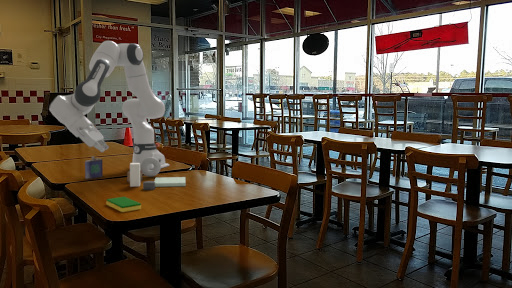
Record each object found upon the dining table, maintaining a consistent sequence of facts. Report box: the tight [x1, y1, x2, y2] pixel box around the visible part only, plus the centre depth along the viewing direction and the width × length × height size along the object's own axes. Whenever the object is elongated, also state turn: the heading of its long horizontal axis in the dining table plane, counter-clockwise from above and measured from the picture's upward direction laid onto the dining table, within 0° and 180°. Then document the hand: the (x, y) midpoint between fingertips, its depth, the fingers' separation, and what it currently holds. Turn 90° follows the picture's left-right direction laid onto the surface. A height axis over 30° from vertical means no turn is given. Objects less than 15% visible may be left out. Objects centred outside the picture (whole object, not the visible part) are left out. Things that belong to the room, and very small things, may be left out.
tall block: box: [129, 162, 141, 187], centre depth 185 cm, size 4×4×10 cm
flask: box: [84, 155, 104, 180], centre depth 202 cm, size 9×3×11 cm, turn 146°
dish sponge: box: [105, 196, 142, 213], centre depth 149 cm, size 7×14×2 cm, turn 42°
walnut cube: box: [126, 170, 143, 183], centre depth 195 cm, size 5×5×5 cm
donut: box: [140, 157, 162, 178], centre depth 207 cm, size 10×4×10 cm, turn 114°
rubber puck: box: [142, 180, 156, 191], centre depth 179 cm, size 5×5×3 cm
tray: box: [154, 176, 186, 188], centre depth 191 cm, size 14×14×2 cm
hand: (105, 149), depth 181 cm, fingers open, 8 cm apart
